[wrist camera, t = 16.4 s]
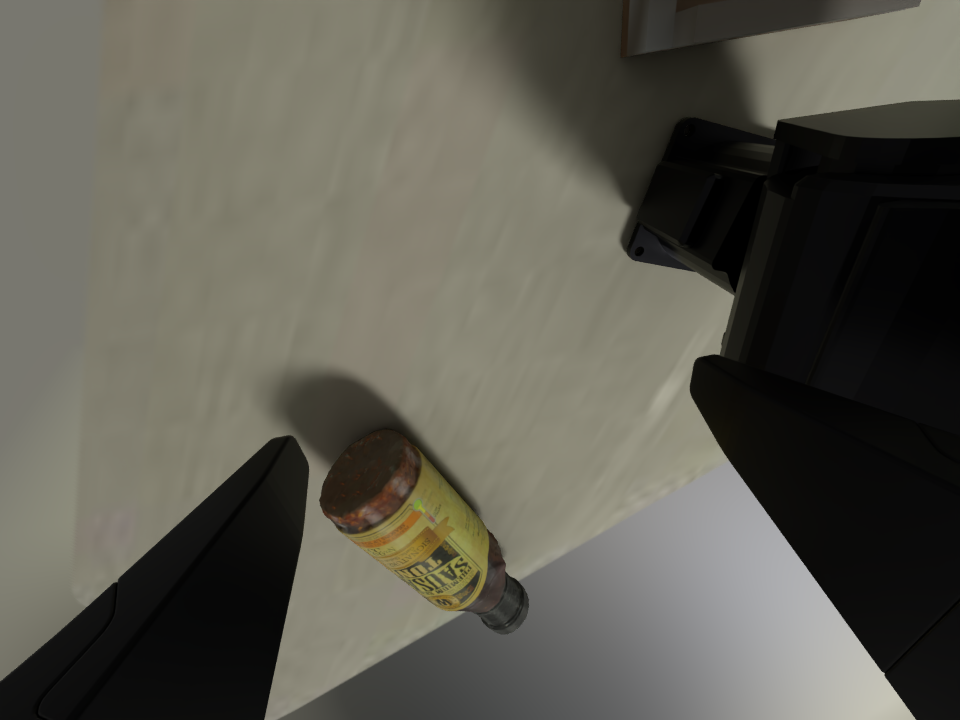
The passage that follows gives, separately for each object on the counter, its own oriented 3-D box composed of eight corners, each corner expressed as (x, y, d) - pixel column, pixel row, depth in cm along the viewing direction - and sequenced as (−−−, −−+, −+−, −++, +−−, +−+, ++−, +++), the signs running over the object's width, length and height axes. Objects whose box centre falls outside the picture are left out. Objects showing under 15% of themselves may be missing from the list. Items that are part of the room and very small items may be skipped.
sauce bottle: (383, 503, 20) (552, 649, 29) (412, 410, 24) (548, 563, 34) (289, 529, 22) (474, 656, 32) (333, 440, 27) (481, 574, 37)
